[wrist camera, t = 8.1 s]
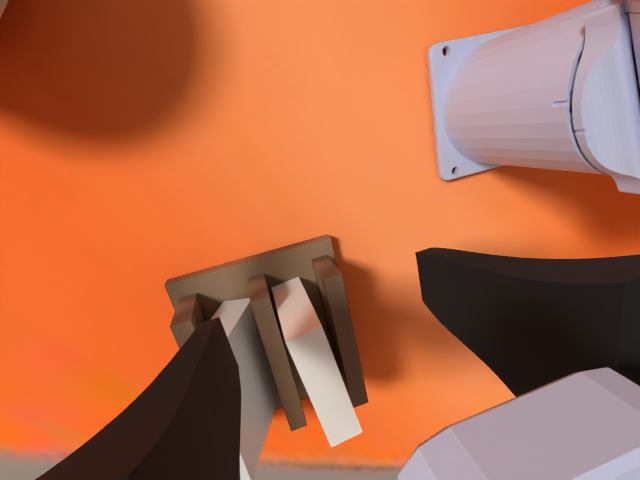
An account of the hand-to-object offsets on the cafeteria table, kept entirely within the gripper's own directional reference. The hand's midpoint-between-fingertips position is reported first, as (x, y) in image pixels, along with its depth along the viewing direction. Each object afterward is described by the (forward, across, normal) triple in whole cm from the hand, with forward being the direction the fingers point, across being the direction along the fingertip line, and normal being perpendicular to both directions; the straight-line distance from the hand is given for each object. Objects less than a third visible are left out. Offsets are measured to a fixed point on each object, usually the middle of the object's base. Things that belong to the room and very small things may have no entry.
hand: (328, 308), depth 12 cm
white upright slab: (+9, +1, +6) cm, 11 cm away
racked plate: (+9, +4, +6) cm, 11 cm away
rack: (+10, +3, +6) cm, 12 cm away
